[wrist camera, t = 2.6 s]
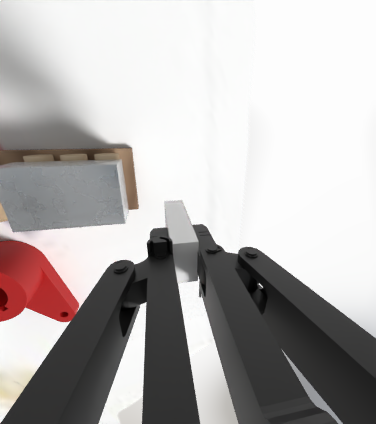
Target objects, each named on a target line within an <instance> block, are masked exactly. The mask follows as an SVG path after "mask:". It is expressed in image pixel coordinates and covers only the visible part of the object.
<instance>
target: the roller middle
mask: <svg viewBox="0 0 376 424" xmlns="http://www.w3.org/2000/svg"><path fill="white" fill-rule="evenodd" d="M60 160H61V161H77V160H88V158H87V154H65V155H60Z"/></svg>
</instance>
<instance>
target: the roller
mask: <svg viewBox="0 0 376 424" xmlns="http://www.w3.org/2000/svg"><path fill="white" fill-rule="evenodd" d="M7 220H8V219H7V216H6V214H5V211H4V209H3V207H2V204H1V202H0V222H3V221H7Z"/></svg>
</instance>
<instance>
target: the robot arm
mask: <svg viewBox="0 0 376 424" xmlns="http://www.w3.org/2000/svg"><path fill="white" fill-rule="evenodd" d="M164 202H165V221H166V228H155V229H153V230H152V231H151V232H150V240H148V242H147V249H148V258H147V259H146V260H145V261H143V262H141V263H138V264H135V265H134V263H133V262H131V261H128V260H120V261H117V262H114V263H113V264H111V265H110V266H109V267H108V268H107V269H106V271H105V272H104V274H103V275H102V277H101V278H100V280H99V281H98V283H97V284H96V285H95V287H94V288H93V290H92V291H91V293H90V294H89V296H88V297H87V299H86V300H85V301H84V303H83V304H82V306H81V307H80V309H79V310H78V312H77V313H76V315H75V316H74V317H73V319H72V320H71V322H70V323H69V325H68V326H67V328H66V329H65V331H64V332H63V333H62V335H61V336H60V338H59V339H58V341H57V342H56V344H55V345H54V346H53V348H52V349H51V351H50V352H49V354H48V355H47V357H46V358H45V360H44V361H43V362H42V364H41V365H40V367H39V368H38V370H37V371H36V373H35V374H34V376H33V377H32V378H31V380H30V381H29V383H28V384H27V386H26V387H25V389H24V390H23V392H22V393H21V394H20V396H19V397H18V399H17V400H16V402H15V403H14V405H13V406H12V407H11V409H10V410H9V412H8V413H7V415H6V416H5V418H4V419H3V421H2V422H1V423H0V424H98V423H99V420H100V417H101V415H102V412H103V409H104V406H105V403H106V401H107V398H108V395H109V392H110V389H111V387H112V384H113V381H114V378H115V375H116V372H117V370H118V367H119V364H120V361H121V358H122V356H123V353H124V350H125V347H126V344H127V342H128V339H129V336H130V333H131V330H132V328H133V325H134V322H135V319H136V316H137V314H138V311H139V308H140V304H143V303H145V302H147V305H146V332H145V359H144V386H143V413H142V424H200V420H199V415H198V408H197V401H196V395H195V390H194V383H193V376H192V370H191V364H190V357H189V351H188V345H187V339H186V332H185V326H184V320H183V314H182V307H181V301H180V295H179V289H178V283H183V282H191V281H198V276H199V279H200V283H199V297H201V294H202V298H203V301H204V305H205V308H206V312H207V315H208V319H209V322H210V326H211V329H212V333H213V336H214V340H215V343H216V347H217V350H218V354H219V357H220V360H221V364H222V367H223V371H224V374H225V378H226V381H227V385H228V388H229V392H230V395H231V399H232V402H233V406H234V409H235V412H236V416H237V420H238V423H239V424H338V423H337V422H336V420H335V419H334V418H332V416H331V415H330V414H329V413H328V412H326V411H324V410H322V409H320V408H318V407H316V406H315V405H314V403H313V402H312V401H311V400H310V398H309V397H308V395H307V393H306V392H305V390H304V388H303V386H302V384H301V383H300V381H299V379H298V377H297V376H296V374H295V372H294V370H293V369H292V367H291V366H290V364H289V362H288V360H287V358H286V357H285V355H284V353H283V352H282V350H283V351H284V352H285V354H286V355H287V356H288V357H289V359H290V360H291V361H292V362H293V363H294V365H295V366H296V367H297V368H298V370H299V371H300V372H301V373H302V374H303V376H304V377H305V378H306V379H307V380H308V382H309V383H310V384H311V385H312V386H313V388H314V389H315V390H316V391H317V393H318V394H319V395H320V396H321V397H322V399H323V400H324V401H325V402H326V403H327V405H328V406H329V407H330V408H331V409H332V411H333V412H334V413H335V414H336V415H337V417H338V418H339V419H340V420H341V422H343V424H376V338H374V337H373V336H372V335H371V334H369V333H368V332H366V331H365V330H364V329H363V328H361V327H360V326H359V325H357V324H356V323H355V322H353V321H352V320H351V319H349V318H348V317H347V316H345V315H344V314H343V313H342V312H340V311H339V310H338V309H336V308H335V307H334V306H332V305H331V304H330V303H328V302H327V301H326V300H324V299H323V298H322V297H320V296H319V295H317V294H316V293H315V292H314V291H312V290H311V289H310V288H309V287H307V286H306V285H304V284H303V283H302V282H301V281H299V280H298V279H297V278H295V277H294V276H293V275H291V274H290V273H289V272H287V271H286V270H285V269H284V268H282V267H281V266H279V265H278V264H277V263H276V262H274V261H273V260H272V259H270V258H269V257H268V256H266V255H265V254H264V253H262V252H261V251H259V250H258V249H255V248H252V247H244V248H241V249H240V250H239V252H238V254H234V253H227V252H225V251H224V249H223V248H222V247H221V246H219V245H217V244H216V243H215V242H214V240H213V238H212V236H211V234H210V232H209V230H208V229H207V227H206V226H204V225H203V224H200V225H192V224H191V221H190V219H189V216H188V214H187V211H186V209H185V206H184V204H183V201H182V200H180V201H164ZM259 283H260V284H261V285H262V286H263V288H262V287H261V286H260V285H259ZM281 349H282V350H281Z"/></svg>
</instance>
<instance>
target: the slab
mask: <svg viewBox="0 0 376 424" xmlns="http://www.w3.org/2000/svg"><path fill="white" fill-rule="evenodd" d="M0 202H1V204H2V207H3V209H4V211H5V214H6V216H7V219H8V221H9V223H10V226H11V228H12V231H13V232H22V231H35V230H48V229H60V228H73V227H86V226H99V225H112V224H124V223H126V219H127V215H128V212H129V209H128V201H127V194H126V187H125V179H124V172H123V165H122V159H115V160H77V161H40V162H12V163H8V164H4V165H0Z"/></svg>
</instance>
